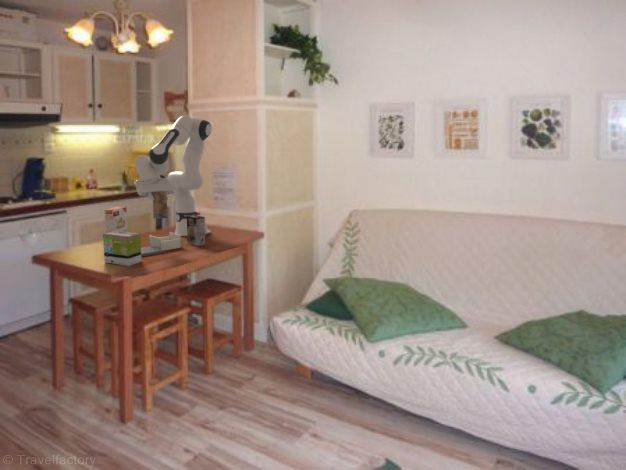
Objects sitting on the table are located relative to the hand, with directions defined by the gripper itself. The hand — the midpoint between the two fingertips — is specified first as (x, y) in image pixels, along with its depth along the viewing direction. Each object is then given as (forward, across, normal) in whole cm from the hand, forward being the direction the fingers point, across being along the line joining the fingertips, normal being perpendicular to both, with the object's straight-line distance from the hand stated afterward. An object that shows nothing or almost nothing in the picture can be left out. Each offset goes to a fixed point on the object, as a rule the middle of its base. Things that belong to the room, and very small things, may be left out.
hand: (160, 199), depth 298 cm
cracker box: (0, -12, +39) cm, 41 cm away
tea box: (+30, -30, +10) cm, 43 cm away
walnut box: (+7, 0, +7) cm, 10 cm away
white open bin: (+18, +3, +20) cm, 27 cm away
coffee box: (+20, +21, +18) cm, 34 cm away
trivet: (+21, -12, +18) cm, 30 cm away
